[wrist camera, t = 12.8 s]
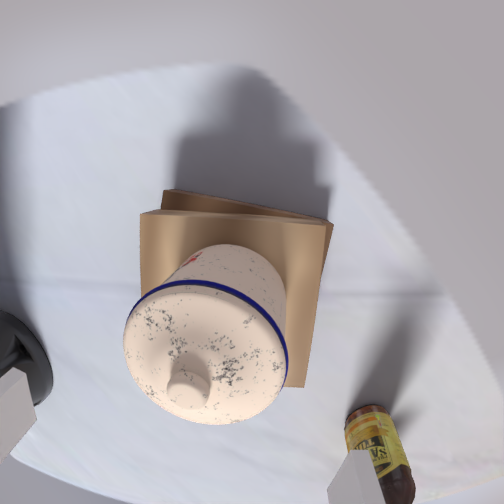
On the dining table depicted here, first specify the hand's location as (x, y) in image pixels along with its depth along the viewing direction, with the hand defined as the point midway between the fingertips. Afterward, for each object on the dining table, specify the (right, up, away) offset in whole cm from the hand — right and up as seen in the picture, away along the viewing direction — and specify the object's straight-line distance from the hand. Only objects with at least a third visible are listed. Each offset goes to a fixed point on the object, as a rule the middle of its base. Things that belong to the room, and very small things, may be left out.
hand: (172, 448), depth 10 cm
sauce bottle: (+17, -14, +25) cm, 34 cm away
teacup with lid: (+1, +3, +15) cm, 15 cm away
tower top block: (+1, +4, +19) cm, 19 cm away
